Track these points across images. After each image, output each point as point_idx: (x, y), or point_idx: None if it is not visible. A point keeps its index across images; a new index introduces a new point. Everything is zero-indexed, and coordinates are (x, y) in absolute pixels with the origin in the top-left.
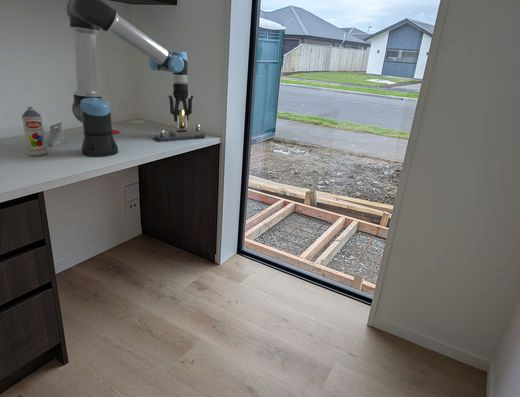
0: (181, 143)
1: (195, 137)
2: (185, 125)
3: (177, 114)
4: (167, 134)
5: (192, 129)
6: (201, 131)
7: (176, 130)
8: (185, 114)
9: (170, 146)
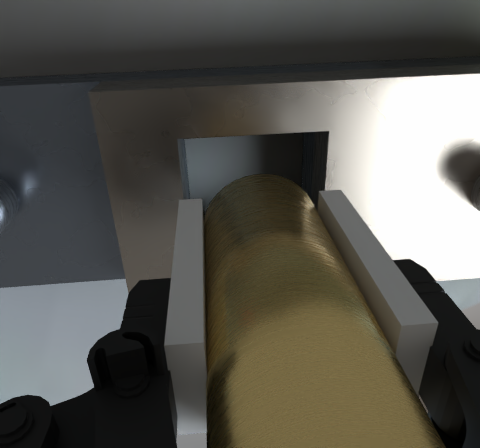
0: None
1: None
2: None
3: (207, 396)
4: (67, 131)
5: (454, 136)
6: (474, 275)
7: (202, 137)
8: (434, 372)
9: None
